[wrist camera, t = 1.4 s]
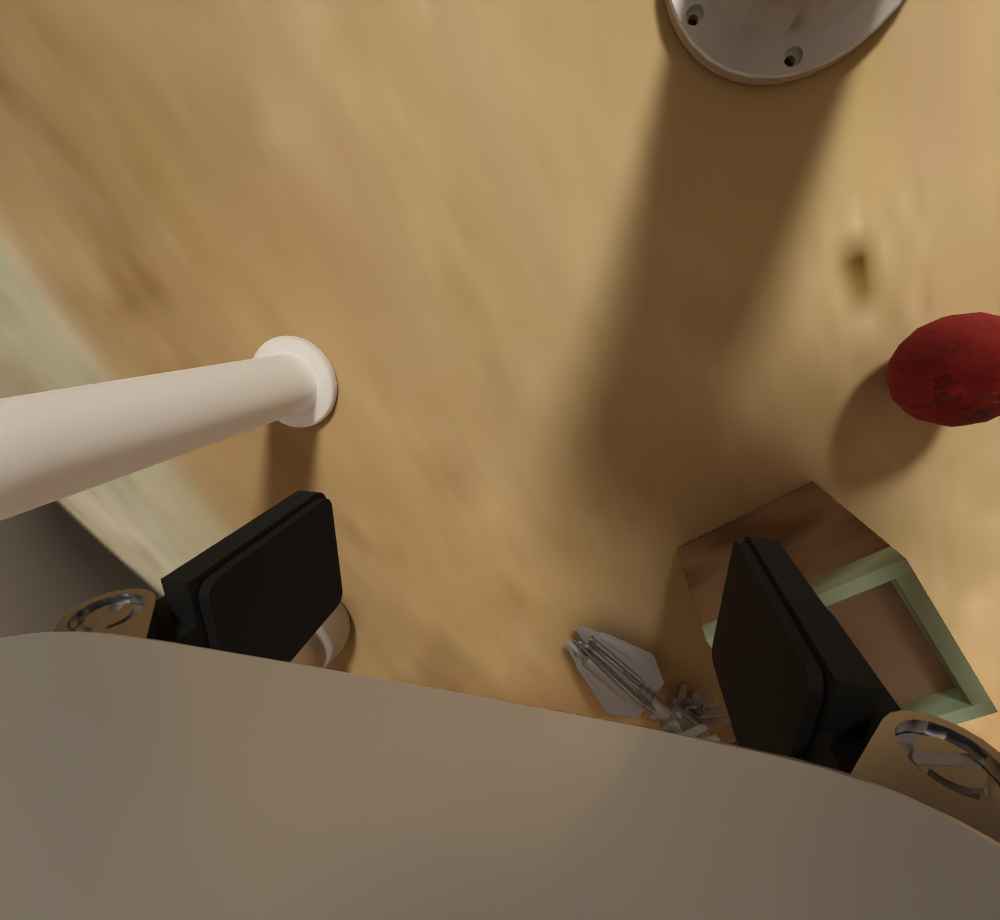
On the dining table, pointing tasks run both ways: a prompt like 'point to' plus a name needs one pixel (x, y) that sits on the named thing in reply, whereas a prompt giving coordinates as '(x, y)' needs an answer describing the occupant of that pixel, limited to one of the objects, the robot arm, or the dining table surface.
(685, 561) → the green shadow box
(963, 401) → the onion
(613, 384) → the dining table surface
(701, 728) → the spaceship
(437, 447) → the dining table surface
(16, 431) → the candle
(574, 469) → the dining table surface
